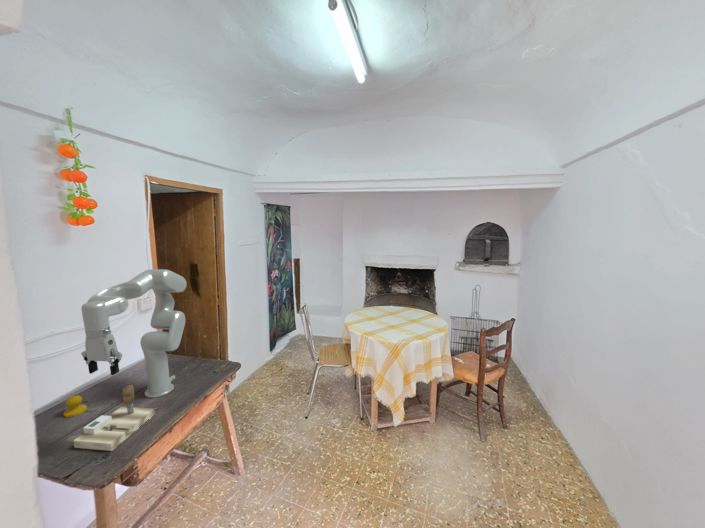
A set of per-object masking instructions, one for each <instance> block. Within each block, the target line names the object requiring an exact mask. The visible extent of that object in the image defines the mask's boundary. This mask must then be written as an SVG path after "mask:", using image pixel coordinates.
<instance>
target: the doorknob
mask: <svg viewBox="0 0 705 528" xmlns="http://www.w3.org/2000/svg"><path fill="white" fill-rule="evenodd" d="M82 401H83V397H82V395H81V396H80V395H79V394H77V395H72V396H70V397H68V398H67V399H66V401H65V405H66V406H67V407H68V408H67V409H65V411H64V412H63V417H65V418H73V417H76V416H80V415H81V414H83V413H84V412H86V411H87V409H88V406H87V405H86V404H81V403H82Z"/></svg>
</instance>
